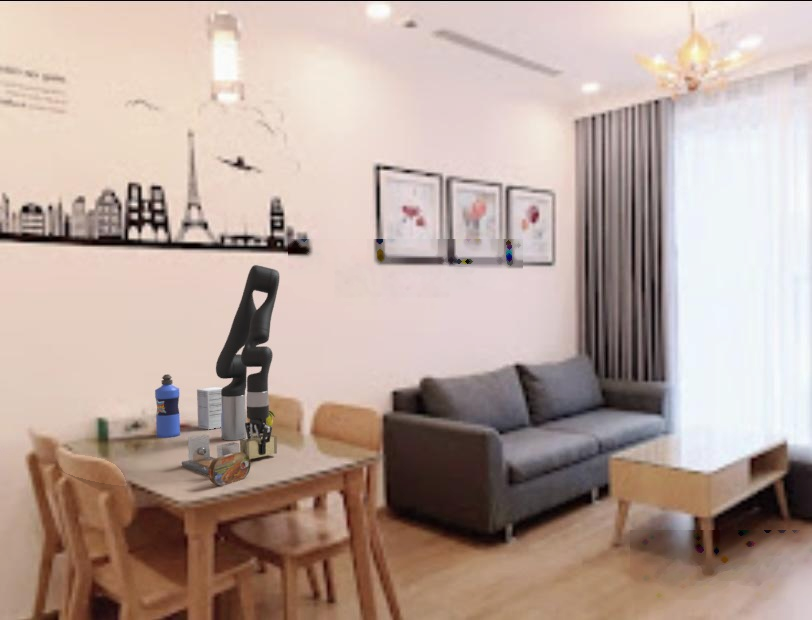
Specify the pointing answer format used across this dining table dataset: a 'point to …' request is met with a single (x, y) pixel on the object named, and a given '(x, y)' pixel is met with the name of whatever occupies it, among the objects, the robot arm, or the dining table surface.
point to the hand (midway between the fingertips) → (258, 453)
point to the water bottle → (167, 409)
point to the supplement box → (209, 407)
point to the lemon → (270, 419)
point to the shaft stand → (205, 453)
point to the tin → (229, 468)
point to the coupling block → (252, 447)
